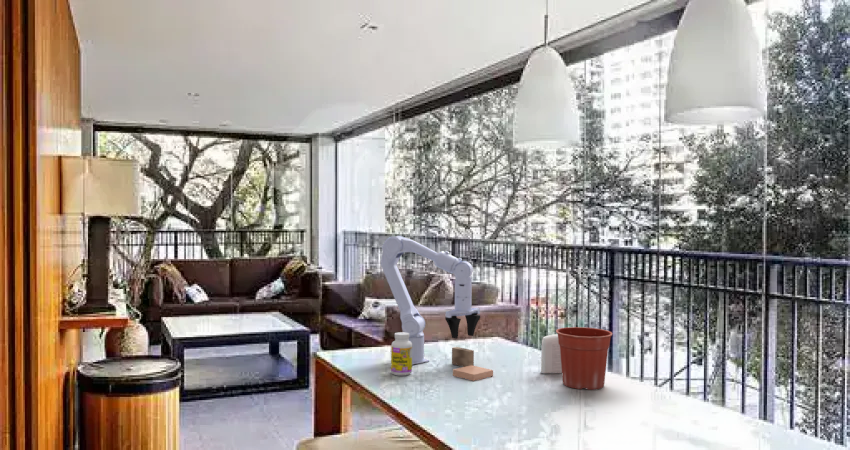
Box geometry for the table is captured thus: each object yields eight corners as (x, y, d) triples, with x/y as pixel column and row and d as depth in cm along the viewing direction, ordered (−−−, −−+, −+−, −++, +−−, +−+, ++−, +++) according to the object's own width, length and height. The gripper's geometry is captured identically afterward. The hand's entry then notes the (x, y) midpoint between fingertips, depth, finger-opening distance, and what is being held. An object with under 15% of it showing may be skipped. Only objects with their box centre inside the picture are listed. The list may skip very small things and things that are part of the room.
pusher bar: (451, 364, 224) (452, 347, 224) (456, 363, 225) (457, 346, 225) (468, 368, 218) (468, 351, 218) (473, 367, 219) (473, 350, 219)
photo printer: (569, 370, 215) (569, 333, 215) (574, 373, 211) (574, 335, 211) (539, 371, 213) (539, 333, 213) (543, 374, 209) (543, 335, 209)
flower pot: (614, 393, 186) (614, 337, 186) (555, 390, 190) (555, 335, 190) (609, 380, 203) (610, 328, 202) (555, 377, 206) (556, 326, 206)
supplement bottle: (388, 375, 206) (388, 334, 206) (394, 370, 213) (394, 331, 213) (408, 376, 205) (409, 335, 205) (414, 371, 211) (414, 332, 211)
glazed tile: (452, 369, 207) (474, 374, 200) (471, 365, 213) (493, 370, 207) (452, 377, 207) (474, 382, 200) (471, 372, 213) (493, 377, 207)
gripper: (456, 299, 215) (455, 341, 215) (486, 296, 224) (486, 336, 224) (441, 297, 220) (441, 338, 220) (471, 294, 230) (471, 333, 230)
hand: (462, 336), depth 223 cm, fingers open, 7 cm apart
